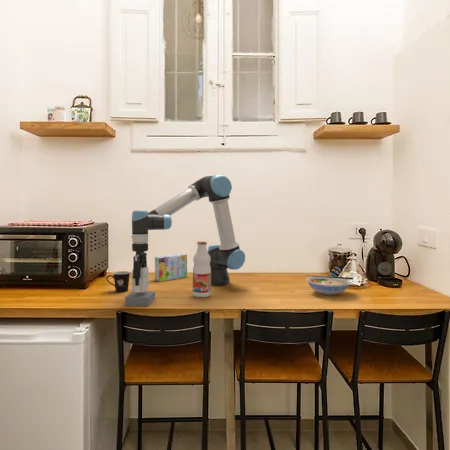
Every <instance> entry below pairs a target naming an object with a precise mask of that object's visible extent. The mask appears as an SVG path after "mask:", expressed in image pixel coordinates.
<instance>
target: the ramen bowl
mask: <svg viewBox="0 0 450 450" xmlns="http://www.w3.org/2000/svg"><path fill="white" fill-rule="evenodd" d="M351 280H354V277H350V276H348V277H347V276H331V275H329V276H328V275H312V276H307V278H306V281H307V283H308V285H309V286H310V288H311V289H312V290H313V291H316V292H317V293H319V294H321V295H322V296H323V295H324V296H335V295H337V294H341V293H343V292H344V291H345V290H347V289H348V288H349V287H350V285H351V283H352V282H351Z"/></svg>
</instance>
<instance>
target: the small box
mask: <svg viewBox="0 0 450 450" xmlns="http://www.w3.org/2000/svg"><path fill="white" fill-rule="evenodd" d="M132 277H133V269H132V271H131V278H132ZM140 278H141V292H144V291H148V289H149V267H147V268H142V267H141V270H140ZM131 280H132V281H131V284H132V285H131V287H132V288H131V290H132V291H131V292H135V279H133V278H132V279H131Z"/></svg>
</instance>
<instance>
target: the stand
mask: <svg viewBox="0 0 450 450" xmlns="http://www.w3.org/2000/svg"><path fill="white" fill-rule="evenodd" d="M124 298H125V299H124V305H125V306H128V307H132V306H135V307H149V306H150V305H151V304H152V303H153V302H154V301H155V300H156V291H155V290H146V291H144V292H132V291H131V292H130V293H128V294H127V295H126V296H125V297H124Z"/></svg>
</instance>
